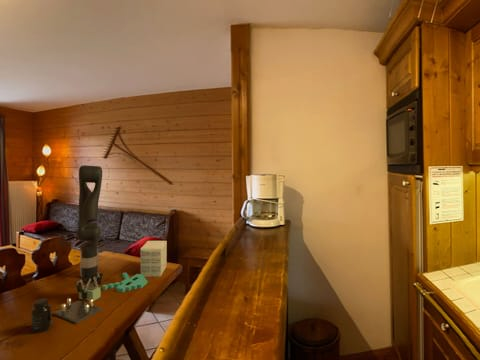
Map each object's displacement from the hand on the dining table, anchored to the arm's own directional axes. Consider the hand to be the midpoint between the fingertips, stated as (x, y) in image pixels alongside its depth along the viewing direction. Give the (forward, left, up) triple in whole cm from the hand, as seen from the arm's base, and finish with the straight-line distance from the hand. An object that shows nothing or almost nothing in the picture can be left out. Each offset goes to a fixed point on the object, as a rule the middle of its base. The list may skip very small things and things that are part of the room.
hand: (89, 296), depth 140 cm
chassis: (+8, -12, -1) cm, 14 cm away
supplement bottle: (+6, -26, -1) cm, 27 cm away
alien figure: (+5, +21, -1) cm, 22 cm away
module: (0, 0, -1) cm, 1 cm away
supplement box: (+5, +42, -1) cm, 42 cm away
